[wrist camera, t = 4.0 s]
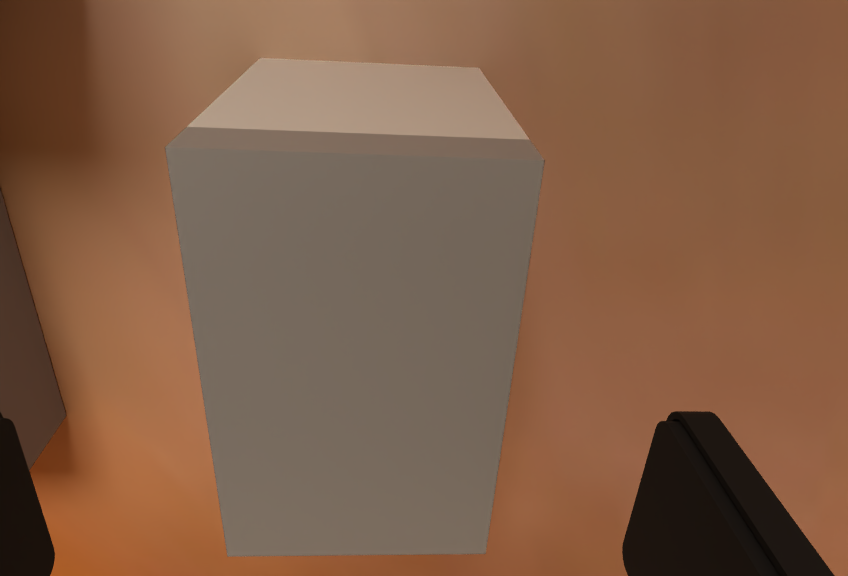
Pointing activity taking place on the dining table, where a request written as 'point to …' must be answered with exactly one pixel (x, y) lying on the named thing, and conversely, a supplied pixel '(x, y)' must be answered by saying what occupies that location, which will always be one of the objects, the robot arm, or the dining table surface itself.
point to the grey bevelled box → (355, 301)
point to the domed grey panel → (24, 355)
